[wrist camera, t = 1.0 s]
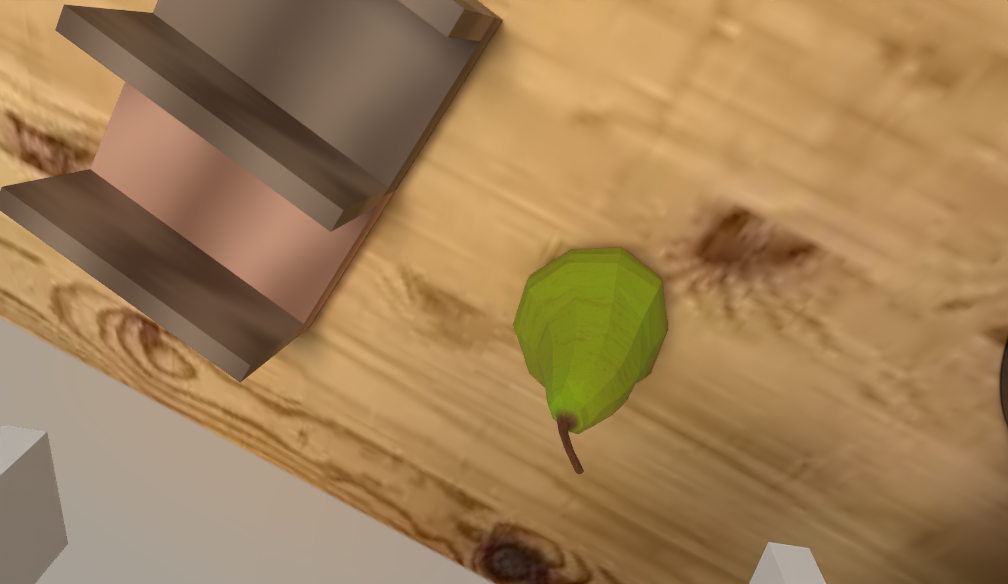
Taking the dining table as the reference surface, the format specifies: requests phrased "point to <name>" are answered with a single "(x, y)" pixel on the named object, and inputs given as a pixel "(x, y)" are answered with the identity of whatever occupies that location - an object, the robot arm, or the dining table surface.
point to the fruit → (590, 334)
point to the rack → (248, 154)
